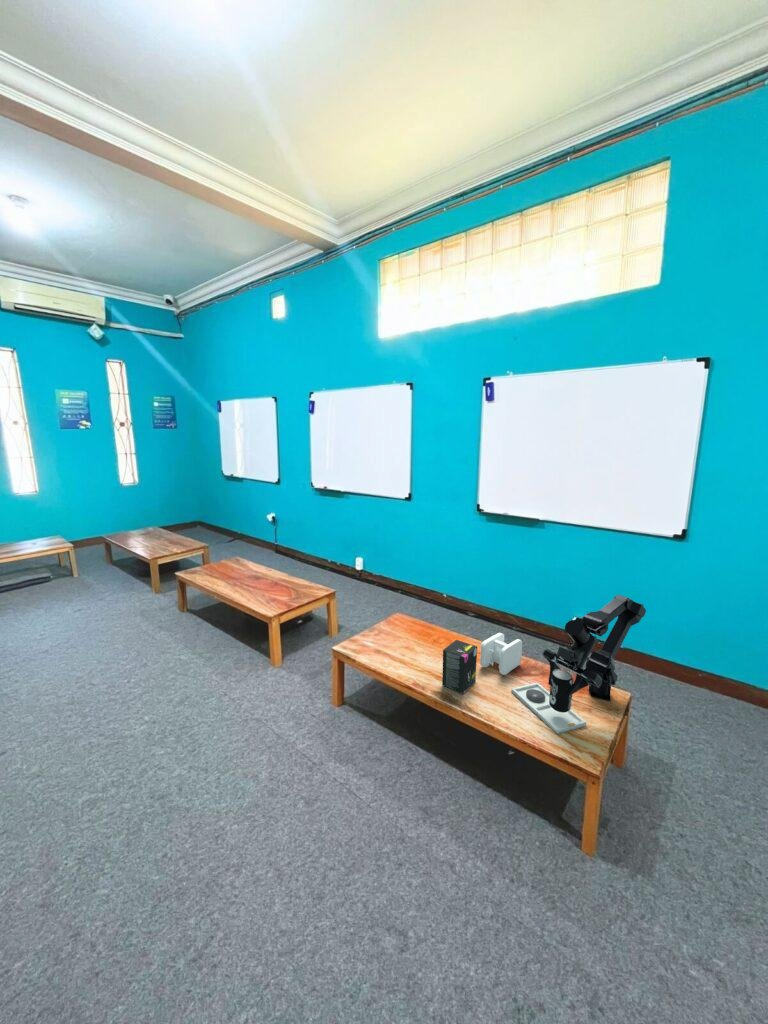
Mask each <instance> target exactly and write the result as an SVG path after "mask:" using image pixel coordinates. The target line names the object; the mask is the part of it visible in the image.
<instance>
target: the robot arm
mask: <svg viewBox="0 0 768 1024" xmlns="http://www.w3.org/2000/svg"><path fill="white" fill-rule="evenodd" d="M646 613H647V610H646V608H645V606H644V604H642V603H640V602H636V601H635V600H633V599H631V598H630V597H628V596H624V595H621V594H616V595H615V596H614V597H613V599H612V600H611V601H609V602H608V603H607V604H605V605H604V606H603V607H602V608H601V609H599V610H597V611H589V612H588V613H586V614H585V615H584V616H582V617H578V616H577V617H575V619H571V620H569V621H567V622H566V623H565V625H564V630H565V632H566V633H567V635H568V636H569V637H570V639H571V640H572V641H573V643H572V644H569V645H568V646H567V647H565V646H561V645H560V646H558V648H557V652H555V651H552V650H550V649H544V650H543V651H542V654H541V656H542V657H543V658H544V659H545V660H546V661H547V662H548V663H549V676H548V683H547V684H548V685H549V686H550V684H551V675H552V674H553V671H554V670H556V669H561V668H560V666H562V667H564V668H567V670H570V671H572V672H574V673H576V675H575V680H573V685H572V686H571V688H570V690H569V692H568V694H567V695H568V696H571V695H572V696H573V695H574V694H575V693H577V692H578V691H580V690H582V689H583V688H586V687H587V686H588V692H589V696H590V697H593V698H597V699H601V700H606V701H612V700H611V699H612V698H611V688H612V686H615V685H616V683H617V682H618V674H617V673H616V672H615V669H616V665H615V657H616V656H617V654H618V651H619V650H620V647H622V644H623V643H624V641H625V639H626V637H627V634H628V633H629V632H630V631H629V630H631V627H632V626H634V625H637V624H638V623H640V622H641V620H642V619H643V618H644V617H645V616H646ZM616 618H617V619H616ZM615 619H616V621H615V622H614V624H613V627H611V630H610V631H609V634H608V636H607V638H606V639H605V641H604V643H603V645H602V647H601V648H600V650H598V651H596V650H593V648H594V647H595V646H598V640H597V636H598V637H603V636H604V635H606V633H607V632H608V630H609V624H611V622H612V621H614V620H615ZM594 635H595V636H594ZM592 650H593V651H592ZM584 666H585V668H583V667H584Z"/></svg>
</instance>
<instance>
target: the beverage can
mask: <svg viewBox="0 0 768 1024" xmlns="http://www.w3.org/2000/svg"><path fill="white" fill-rule="evenodd" d="M573 683H574V680H573V675H572V674H571V672H569V671H568V670H566V669H562V668H560V669H556V670H554V671H553V674H552V675H551V684H550V685H549V686H550V687H549V688H550V689H549V692H550V699H549V704H550V706H551V707H552V708H553V709H554V710H556V711H558V712H563V713H564V712H568V711H569V710H570V709H571V710H572V701H573V694H572V695H571V696H568V695H567V694H568V692H569V690H570V688H571V686H572V685H573Z"/></svg>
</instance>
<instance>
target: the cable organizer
mask: <svg viewBox="0 0 768 1024" xmlns="http://www.w3.org/2000/svg"><path fill="white" fill-rule="evenodd" d="M522 648H523V640H522V639H519V638H517V639H515V640H513V641H512V642H510V643H509V644H507V642H505V633H503V632H502V633H501V632H497V633H496V634H494V635H492V636H490V637H488V638H487V639H485V640H483V642H482V643H480V661H479V663H480V666H481V667H483V668H488V667H489V666H491V667H493V666H494V665H495V663H496V664H497V665H498V668H497V669H499V674H501V675H502V676H506V675H507V674H509V673H510V672H511V671H513V670H514V669H516V668H517V667H518V666H519V665H520V664H521V662H522V652H523V651H522V650H523V649H522Z"/></svg>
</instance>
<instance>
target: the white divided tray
mask: <svg viewBox="0 0 768 1024" xmlns="http://www.w3.org/2000/svg"><path fill="white" fill-rule="evenodd" d="M511 694H513V695H514V696H515V697H516V698H518V700H519V701H520V702H521V703H523V705H525V706H526V707H527V708H528V709H529V710H530V711H531V712H532V713H534V714H535V715H536V716H537V717H538V718H539V719H540V720H541V721H542V722H543V723H545V725H547V727H548V728H550V729H551V730H552V731H553V732H554V733H555V734H556V735H560V734H563V733H566V732H569V731H573V730H576V729H579V728H583V727H587V721H586V720H585V719H583V718H582V717H581V716H580V715H579V714H577V713H576V712H575V711H574V710H572V708H571V709H570V710H569V711H568V712H564V713H563V712H558V711H556V710H554V709H553V708H552V707H551V706H550V704H549V699H550V690H549V691H548V689H546V688H545V687H544V686H543V685H541V684H540V683H539V682H535V683H530V684H525V685H522V686H521V685H520V686H517V687H513V688H511Z"/></svg>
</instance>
